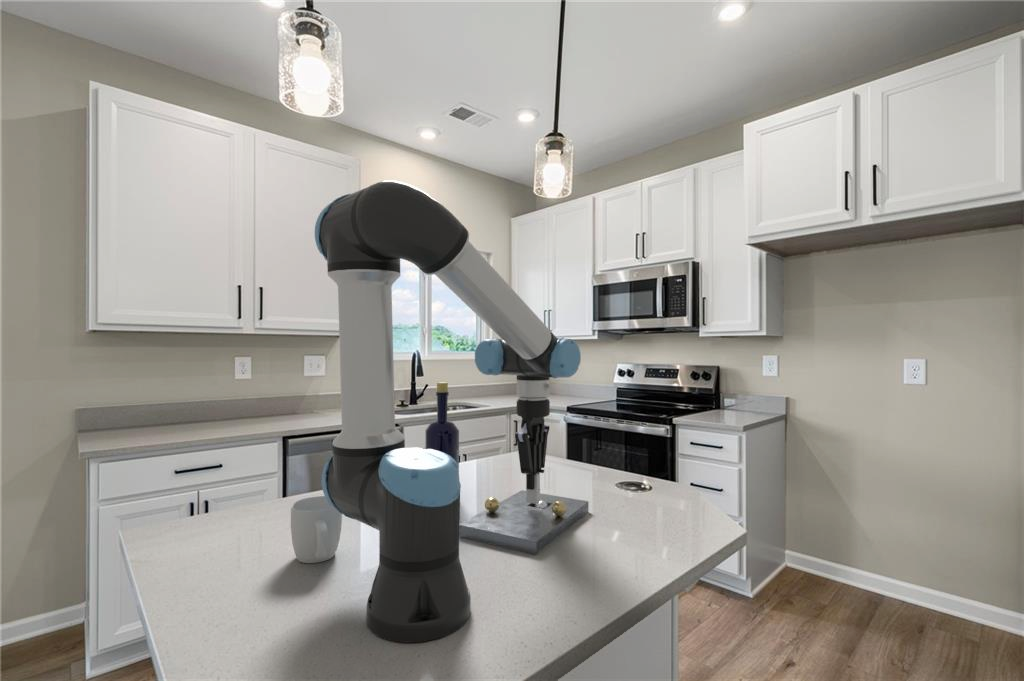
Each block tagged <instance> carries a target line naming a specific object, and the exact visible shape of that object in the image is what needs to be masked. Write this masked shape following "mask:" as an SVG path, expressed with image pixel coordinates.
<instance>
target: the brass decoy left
mask: <svg viewBox="0 0 1024 681" xmlns="http://www.w3.org/2000/svg"><path fill="white" fill-rule="evenodd" d="M499 502H500V501H499V500H498V499H497V498H496V497H488V498H487V499H486V500H485V503H484V508H485V510H487V511H488V512H495V511H497V510H498V508H499Z"/></svg>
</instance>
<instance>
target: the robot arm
mask: <svg viewBox="0 0 1024 681" xmlns="http://www.w3.org/2000/svg"><path fill="white" fill-rule="evenodd" d="M314 240H315V245H316V248H317V249H318V252H319V253H320V254H321V255H322V256H323V258H324V260H325V261H326V262H327V263H326V264H327V276H328V277H329V278H331V280H332V281H333V282H334V283H335V284H336V285H337V286H336V287H337V295H338V297H337V299H338V304H337V305H338V335H339V365H340V366H339V369H340V372H339V374H340V376H339V377H340V398H341V399H340V402H341V403H340V405H341V408H340V409H341V431H340V433H339V434H337V436H336V437H335V438H334V439H333V440H332V442H331V443H332V454H330V456H329V459H328V460H327V461H326V462H325V464H324V466H323V468H322V469H323V470H322V474H321V488H322V493H323V496H325V497H326V499H327V501H328V502H329V503H330V504H331V505H332V506H333V507H334V508H335V509H337V510H338V512H340V513H342V515H344V516H345V517H347V518H349V519H352V520H356V521H357V522H360V523H362V524H365V525H366V526H368V527H371V528H373V529H375V530H377V531H379V533H378V534H379V539H378V540H379V542H378V543H379V545H378V546H379V553H378V554H379V558H378V560H379V563H378V567H377V570H376V572H375V576H374V580H373V583H372V586H371V590H370V593H369V596H368V598H367V602H366V610H365V611H366V613H365V614H366V616H365V617H366V618H365V620H366V625H367V627H368V629H369V630H370V631H371V632H372V633H374V635H376V636H378V637H379V638H382V639H384V640H388V641H392V642H396V643H398V642H399V643H422V642H427V641H429V642H430V641H433V640H437V639H440V638H443V637H445V636H448V635H450V634H452V633H454V632H455V631H457V630H458V629H460V628H461V627H462V626H464V624H466V622H467V621H468V619H469V617H470V615H471V603H472V602H471V599H472V598H471V592H470V589H469V587H468V584H467V581H466V578H465V574H464V571H463V567H462V563H461V560H460V537H459V526H460V524H461V523H460V522H461V518H460V517H461V516H460V515H461V511H460V510H461V492H462V491H461V488H462V485H461V482H460V471H459V470H460V468H459V469H458V465H457V463H456V461H455V460H454V459H453V458H452V457H451V456H449V455H448V454H446V453H443V452H441V451H438V450H434V449H425V448H423V447H416V446H415V447H414V446H413V447H406V445H405V444H406V441H405V439H406V438H405V435H404V433H402V432H401V431H400V430H399V429H398V428H397V427H396V411H395V410H396V409H395V407H396V406H395V378H394V377H395V375H394V374H395V372H394V370H395V369H394V339H393V338H394V334H393V333H394V332H393V297H392V296H393V295H392V287H393V284H394V283H395V282H396V281H397V280H398V279H399V278H400V277H401V260H404V261H407V262H410V263H412V264H413V265H414V266H416V267H417V268H419V270H421V272H422V273H424V274H425V275H427V276H428V275H430V276H431V275H432V276H433V275H435V276H436V277H437V278H438V279H439V280H440V281H441V282H442V283H443V284H444V285H445V286H446V287H447V288H448V289H449V290H451V291H452V292H453V293H454V294H455V295H456V296H457V297H458V299H460V301H462V302H463V303H464V304H465V305H466V306H467V307H468V308H469V309H470V310H471V311H472V312H473V313H474V314H475V315H476V316H477V317H479V318H480V319H481V320H482V321H483V323H485V324H486V325H487V326H488V327H489V328H490V329H491V330H492V331H493V332H494V333H495V334H496V335H498V336H499V338H495V337H494V338H488V339H487V338H486V339H483V340H482V341H480V342H479V343H478V344H477V346H476V348H475V351H474V364H475V366H476V368H477V370H478V371H479V372H480V373H481V374H483V375H485V376H498V375H507V376H508V375H510V376H516V397H518V398H517V400H516V415H517V416H518V417H521V424H520V429H521V430H520V431H516V432H515V434H514V435H515V436H514V437H515V440H516V442H517V451H518V452H517V453H518V459H519V466H520V473H521V474H523V475H526V476H525V477H526V478H525V483H526V484H525V485H526V486H525V491H526V502H528V503H533V504H538V503H540V493H541V474H544V473H545V469H544V468H545V465H546V455H547V447H548V446H547V445H548V437H549V436H548V435H549V432H550V426H549V425H546V424H545V421H546V420H545V417H548V416H549V415H550V411H551V410H550V408H551V407H550V406H551V405H550V403H551V402H550V399H549V397H550V389H551V388H552V385H551V384H550V378H553V379H557V378H571V377H572V376H574V375H575V374H576V373H577V371H578V370H579V366H580V365H581V357H582V356H581V355H582V354H581V350H580V347H579V345H578V343H577V342H576V341H575V340H573V339H571V338H565V337H557V336H556V335H555V334H554V333H553V332H552V331H551V330H550V329H549V327H547V325H546V324H545V323H544V322H543V321H542V320H541V319H540V318H539V317H538V315H537V314H536V313H535V312H534V311H533V310H532V309H531V308H530V306H528V304H527V303H526V302H525V301H524V299H522V298H521V297H520V296H519V295H518V293H516V291H515V290H514V289H513V288H512V287H511V286H510V285H509V283H507V282H506V281H505V279H504V278H503V277H502V276H501V275H500V274H499V273H498V272H497V271H496V269H495V268H494V267H493V265H492V264H490V263H489V261H487V259H486V258H484V256H483V255H482V254H481V253H480V252H479V251H478V250H477V248H476V247H474V245H473V244H472V243H471V242H470V233H469V230H468V229H467V227H465V226H464V225H463V224H462V222H460V220H459V219H458V218H457V217H456V216H455V215H454V214H453V213H452V212H451V211H450V210H449V209H447V207H445V206H444V204H441V203H440V202H439V201H438V200H436V199H435V198H434V197H432V196H431V195H429V194H428V193H426V192H425V191H424V190H421V189H419V188H418V187H415V186H414V185H411V184H408V183H405V182H402V181H397V180H384V181H379V182H376V183H373V184H371V185H369V186H368V187H365V188H362V189H359V190H358V191H354V192H353V193H348V194H344V195H341V196H339V197H337V198H335V199H334V200H332V202H331V203H328V204H327V205H326V206H325V207H324V208H323V209H322V210H321V212H320V213H319V215H318V216H317V219H316V222H315V225H314Z"/></svg>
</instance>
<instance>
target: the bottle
mask: <svg viewBox="0 0 1024 681" xmlns="http://www.w3.org/2000/svg"><path fill="white" fill-rule="evenodd" d="M448 383H449V382H445V381H443V382H441V381H439V382H436V392H435V396H436V415H437V416H436V420H435V421H432V422H430V423H429V424H428V426H427V427H426V428H425V430H424V444H425V445H424V449H434V450H438V451H441V452H443V453H446V454H448V455H449V456H451V457H452V458H453V459H454V460H455V461H456V463H457V465H458V469H459V470H460V464H459V463H460V459H459V458H460V457H459V456H460V430H459V428H458V427H457V426H456V424H455V423H454V422H452V421H450V420H448V402H449V401H448V396H449V393H450V392H449V391H448V390H449V389H448V388H449V385H448Z"/></svg>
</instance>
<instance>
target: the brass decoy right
mask: <svg viewBox="0 0 1024 681" xmlns="http://www.w3.org/2000/svg"><path fill="white" fill-rule="evenodd" d="M551 509H552V513H553V514H554V515H555V516H558V517H560V516H563V515H564V514H565V512H566V506H565V504H564V503H563V502H561V501H556V502H554V503H553V505H552V508H551Z"/></svg>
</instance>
